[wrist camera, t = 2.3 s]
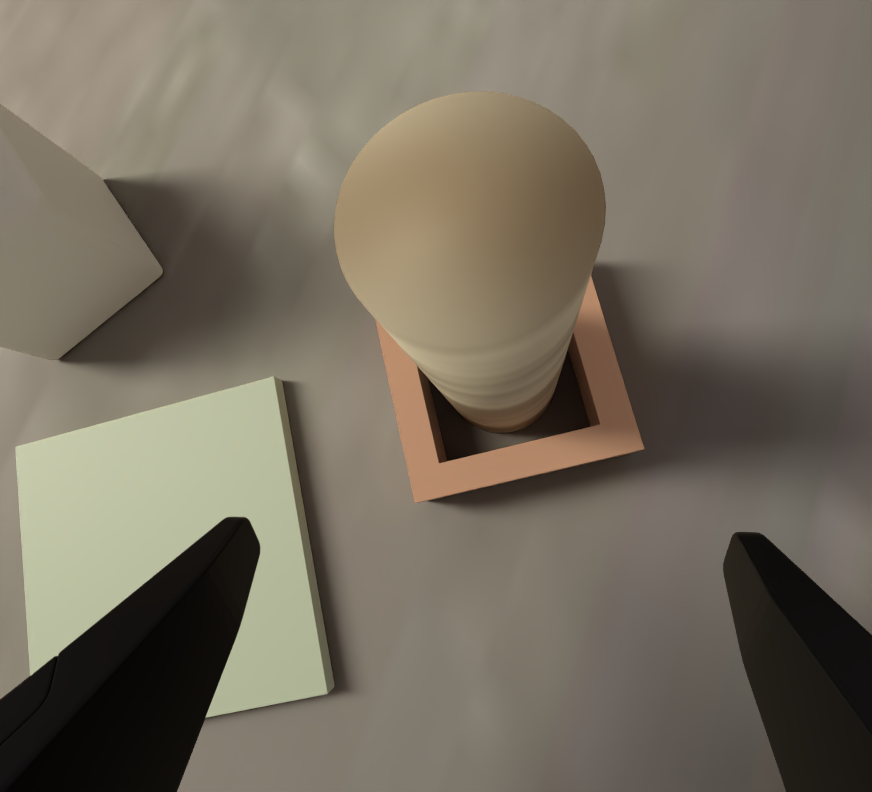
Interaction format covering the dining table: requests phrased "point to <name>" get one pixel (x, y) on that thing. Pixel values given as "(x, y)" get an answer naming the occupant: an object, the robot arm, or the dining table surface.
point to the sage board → (176, 531)
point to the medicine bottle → (60, 246)
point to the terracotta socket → (600, 441)
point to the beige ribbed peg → (475, 246)
